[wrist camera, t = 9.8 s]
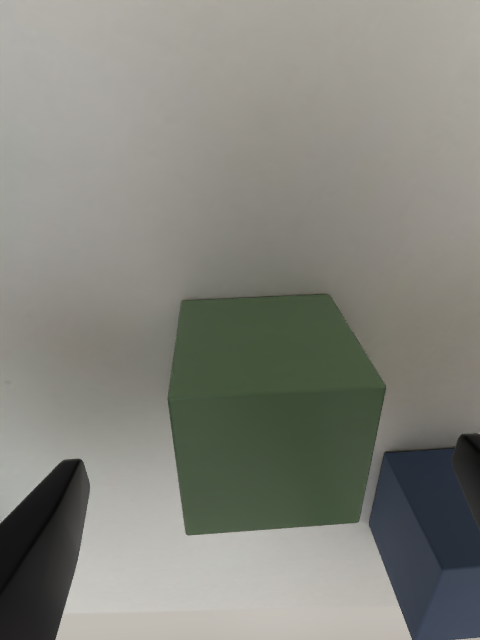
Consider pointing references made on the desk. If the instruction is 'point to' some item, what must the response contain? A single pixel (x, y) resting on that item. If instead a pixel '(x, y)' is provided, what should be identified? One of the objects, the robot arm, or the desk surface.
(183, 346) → the green block
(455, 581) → the blue block
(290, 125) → the desk surface
